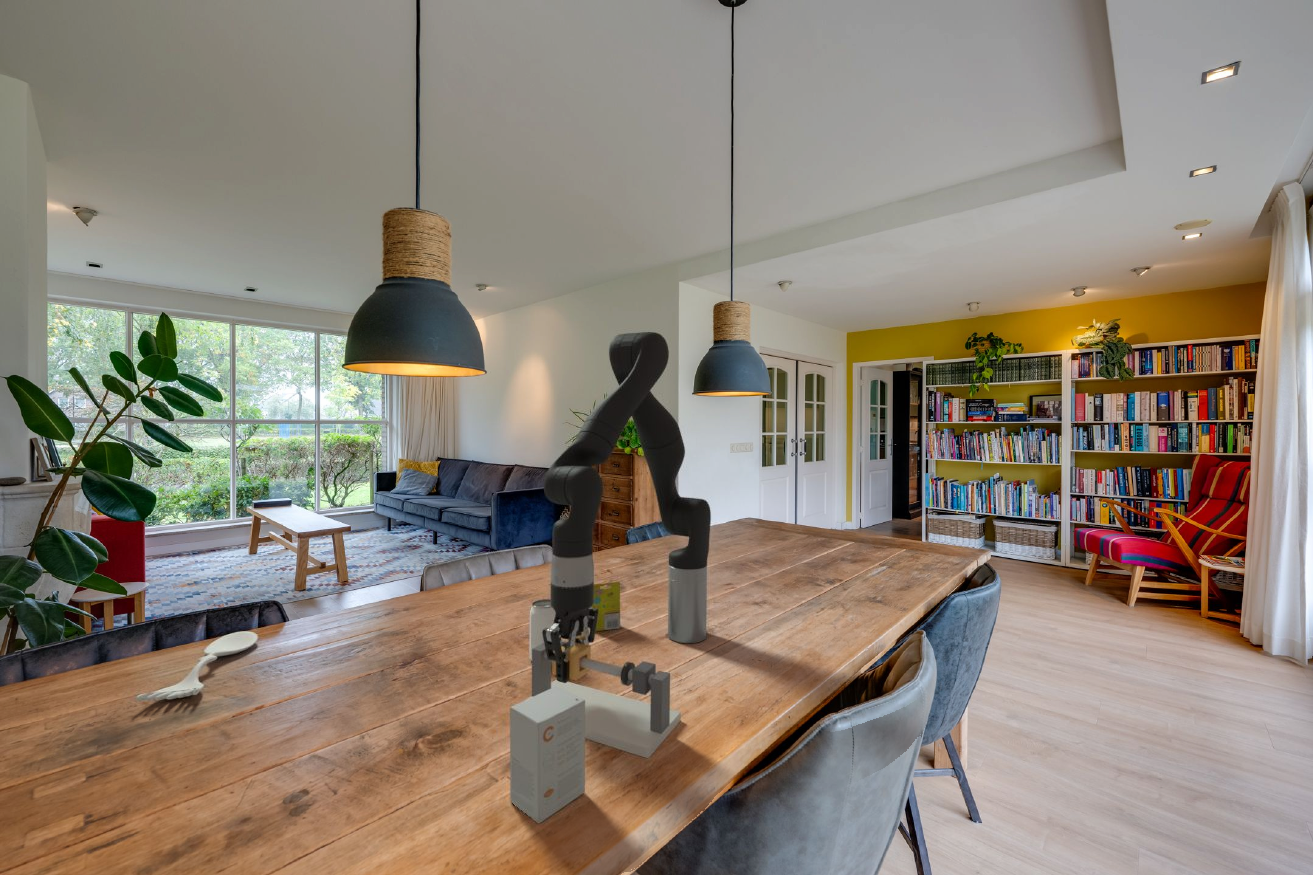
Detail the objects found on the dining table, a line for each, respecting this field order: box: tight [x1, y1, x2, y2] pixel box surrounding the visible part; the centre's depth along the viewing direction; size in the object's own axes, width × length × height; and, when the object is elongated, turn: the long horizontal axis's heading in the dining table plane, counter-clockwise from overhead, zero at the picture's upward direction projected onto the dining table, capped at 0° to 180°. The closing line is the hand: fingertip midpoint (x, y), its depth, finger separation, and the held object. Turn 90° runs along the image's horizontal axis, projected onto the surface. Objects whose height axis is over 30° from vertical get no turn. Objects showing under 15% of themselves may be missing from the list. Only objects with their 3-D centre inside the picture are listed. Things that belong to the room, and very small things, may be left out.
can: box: [529, 598, 555, 664], centre depth 117 cm, size 6×6×12 cm
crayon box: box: [591, 581, 621, 632], centre depth 135 cm, size 7×3×12 cm, turn 108°
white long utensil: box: [135, 630, 259, 702], centre depth 110 cm, size 9×32×4 cm, turn 18°
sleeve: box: [551, 640, 592, 681], centre depth 96 cm, size 4×5×4 cm
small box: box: [509, 686, 586, 825], centre depth 73 cm, size 8×6×13 cm
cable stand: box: [525, 643, 682, 759], centre depth 94 cm, size 12×26×11 cm, turn 63°
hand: (571, 674), depth 96 cm, fingers closed on sleeve, 4 cm apart
